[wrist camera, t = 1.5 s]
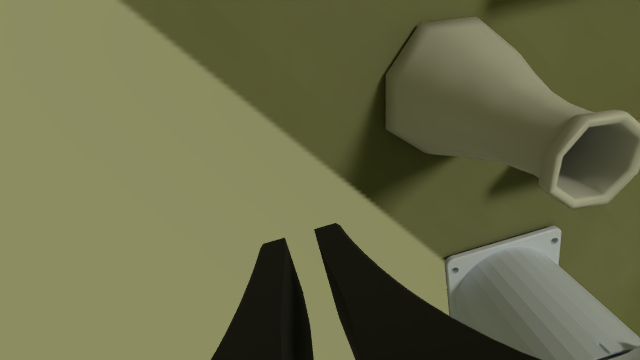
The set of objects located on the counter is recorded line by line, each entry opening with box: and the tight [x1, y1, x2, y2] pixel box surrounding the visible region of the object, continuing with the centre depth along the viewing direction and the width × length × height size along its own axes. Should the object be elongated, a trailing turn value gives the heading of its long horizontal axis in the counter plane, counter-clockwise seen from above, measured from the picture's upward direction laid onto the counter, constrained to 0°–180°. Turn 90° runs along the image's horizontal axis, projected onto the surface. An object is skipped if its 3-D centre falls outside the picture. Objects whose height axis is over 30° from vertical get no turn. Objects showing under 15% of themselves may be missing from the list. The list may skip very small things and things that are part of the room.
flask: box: [386, 17, 640, 210], centre depth 16 cm, size 7×7×10 cm
